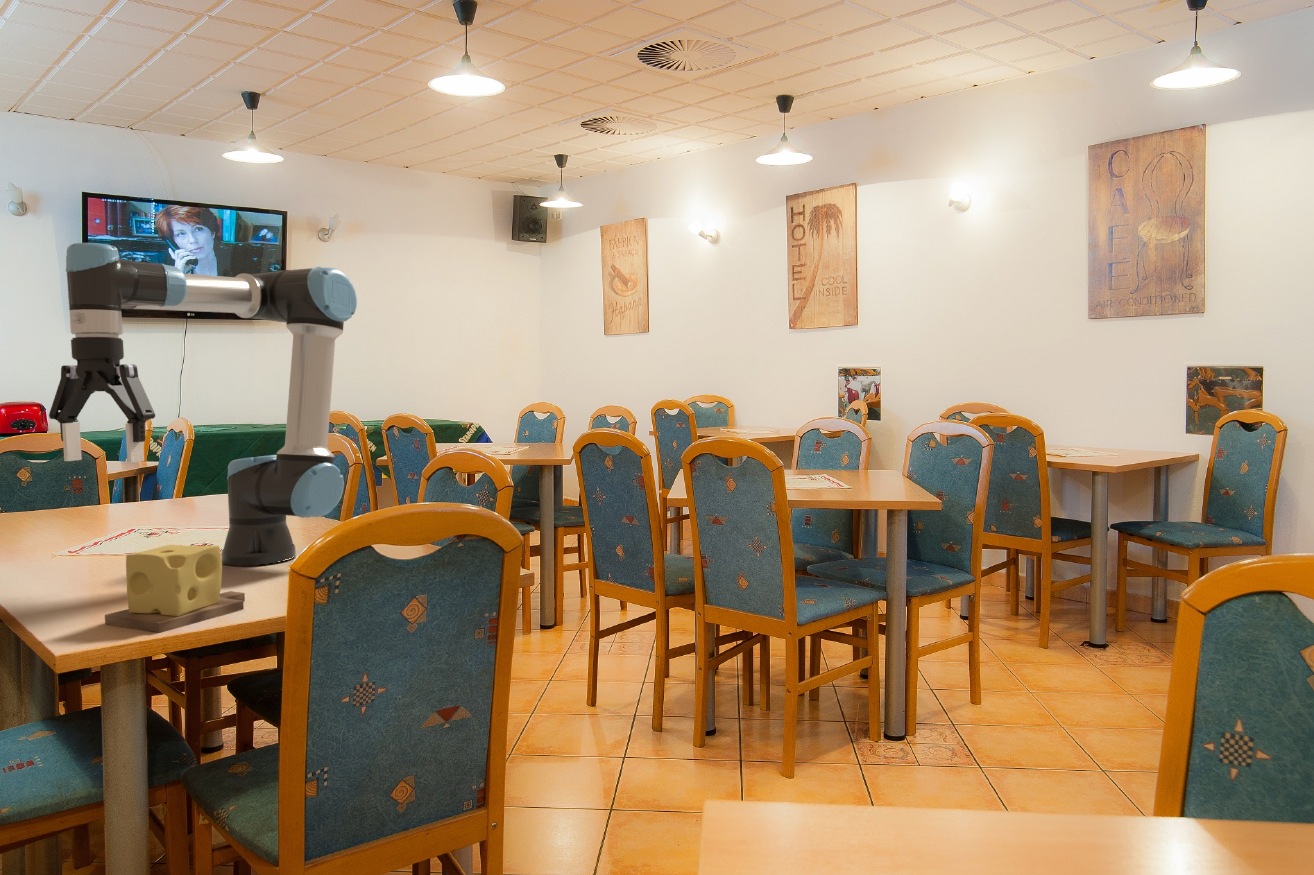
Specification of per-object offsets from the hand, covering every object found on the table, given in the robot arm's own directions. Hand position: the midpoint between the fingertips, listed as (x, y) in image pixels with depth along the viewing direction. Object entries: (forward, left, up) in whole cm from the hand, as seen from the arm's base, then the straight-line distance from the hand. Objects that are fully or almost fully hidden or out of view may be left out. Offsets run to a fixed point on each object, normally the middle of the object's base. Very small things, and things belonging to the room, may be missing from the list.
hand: (104, 461), depth 153 cm
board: (-4, +14, -26) cm, 30 cm away
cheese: (-2, +14, -25) cm, 28 cm away
